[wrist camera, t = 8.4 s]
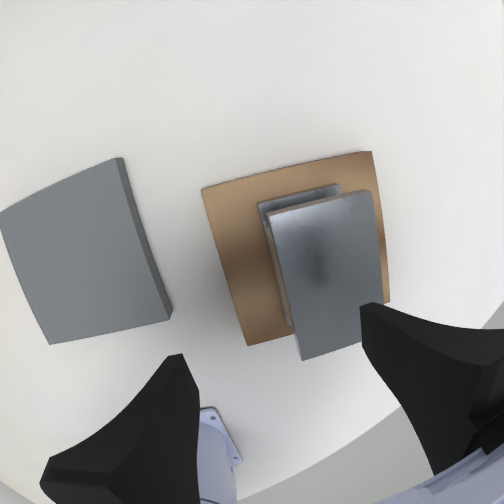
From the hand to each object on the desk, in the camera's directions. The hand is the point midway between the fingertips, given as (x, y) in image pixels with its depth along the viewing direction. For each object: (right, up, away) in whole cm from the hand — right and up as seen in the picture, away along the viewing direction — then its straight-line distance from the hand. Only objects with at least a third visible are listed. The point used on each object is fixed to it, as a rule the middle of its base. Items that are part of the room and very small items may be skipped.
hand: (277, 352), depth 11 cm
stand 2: (+3, +4, +9) cm, 11 cm away
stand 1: (-13, +3, +8) cm, 16 cm away
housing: (+3, +4, +8) cm, 9 cm away
